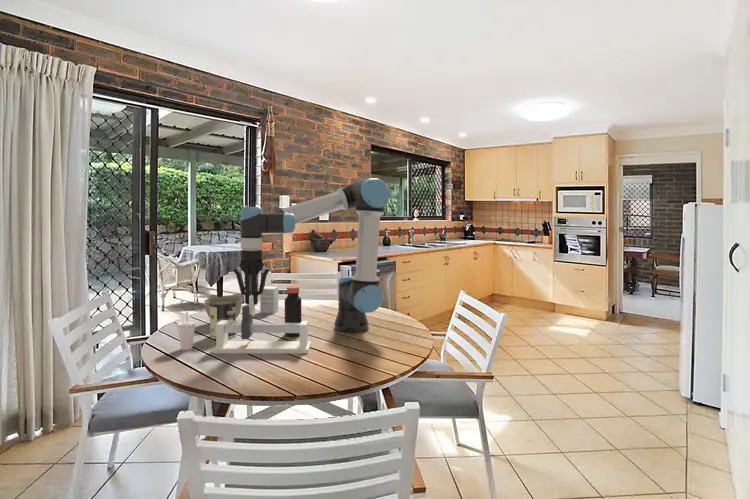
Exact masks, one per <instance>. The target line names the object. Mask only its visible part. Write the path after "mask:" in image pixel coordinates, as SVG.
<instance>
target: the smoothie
mask: <svg viewBox="0 0 750 499" xmlns="http://www.w3.org/2000/svg"><path fill="white" fill-rule="evenodd" d="M185 316H186V317H185V321H179V322H177V323H176V327H177V329H178V337H179V338H178V339H179V343H180V344H179V345H180V350H181V351H190V350H193V344H194V338H195V337H194V336H195V326H196V325H197V324H196V321H193V320H189V312H188V310H187V311H185Z"/></svg>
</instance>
